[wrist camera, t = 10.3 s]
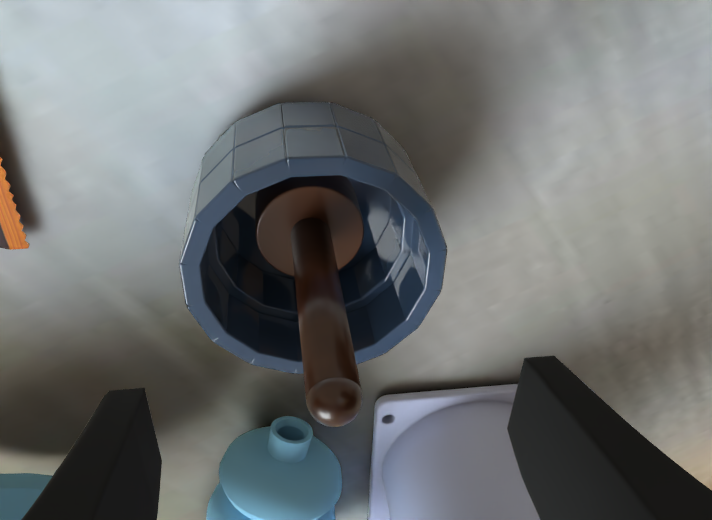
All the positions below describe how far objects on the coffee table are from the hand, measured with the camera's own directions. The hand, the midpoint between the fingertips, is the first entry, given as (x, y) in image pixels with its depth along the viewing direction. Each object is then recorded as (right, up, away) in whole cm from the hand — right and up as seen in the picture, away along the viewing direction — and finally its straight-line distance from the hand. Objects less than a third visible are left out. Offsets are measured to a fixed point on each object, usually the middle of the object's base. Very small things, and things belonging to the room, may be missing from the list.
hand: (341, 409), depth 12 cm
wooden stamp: (-1, +5, +6) cm, 8 cm away
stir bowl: (-1, +5, +7) cm, 8 cm away
